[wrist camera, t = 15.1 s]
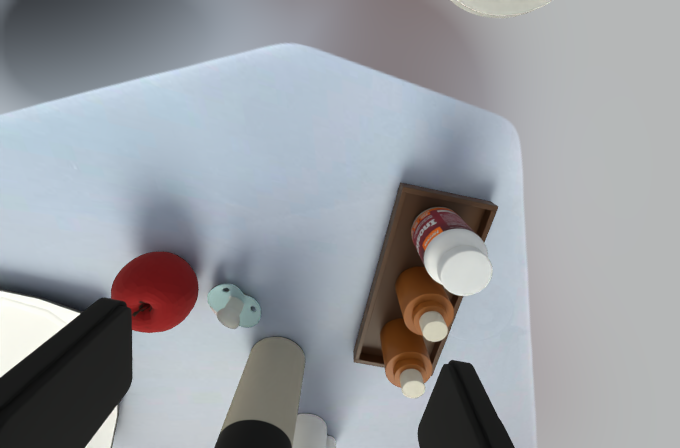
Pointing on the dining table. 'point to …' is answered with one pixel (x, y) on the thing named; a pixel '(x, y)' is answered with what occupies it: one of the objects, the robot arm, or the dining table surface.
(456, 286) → the pill bottle
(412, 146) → the dining table surface
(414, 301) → the amber bottle middle
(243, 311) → the pacifier
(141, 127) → the dining table surface
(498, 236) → the dining table surface
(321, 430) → the vase
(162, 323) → the apple
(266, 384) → the travel mug
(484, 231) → the tray
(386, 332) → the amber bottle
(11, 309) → the plate
